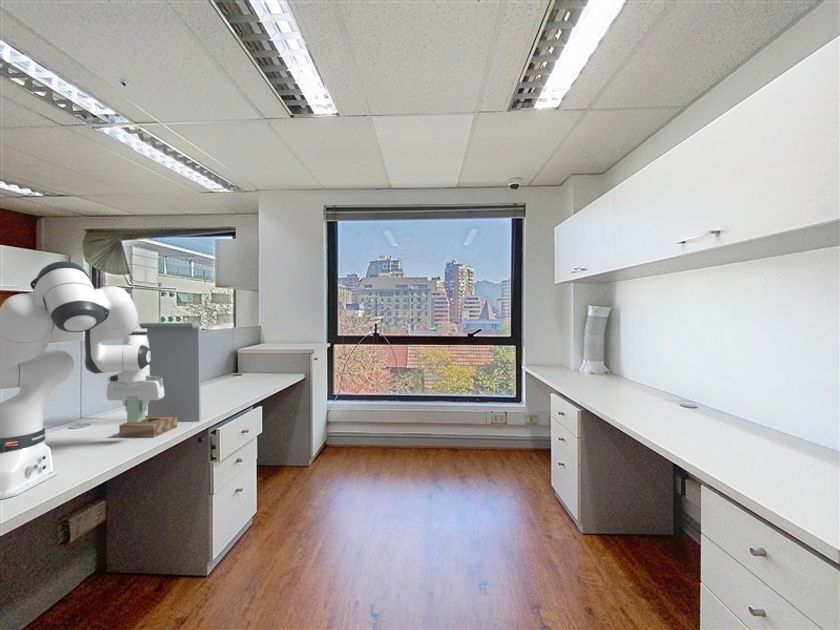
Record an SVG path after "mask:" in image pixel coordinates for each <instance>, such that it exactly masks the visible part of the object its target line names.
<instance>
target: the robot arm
mask: <svg viewBox="0 0 840 630" xmlns="http://www.w3.org/2000/svg"><path fill="white" fill-rule="evenodd" d="M29 284H30V288H31V289H32V291H31V292H28V293H18V294H14V295H11V296H9V297H8V298H6V299H5V300H4V301H3V302H2V304H1V306H0V390H3V389H13V388H19V391H18V392H17V394H16V395H14V396H13V397H10V398H8V399H6V400H4V401H2V402H0V500H5V499H8V498H12V497H15V496H18V495H20V494H21V493H23V492H25V491H27V490H29V489H31V488H33V487H35V486H37V485H39V484H41V483H43V482H44V481H47V480H49V479H51V478H52V477H54V476H56V475H58V474H59V472H58V470H57V469H53V459H52V458H53V457H52V451H51V448H50V446H48V445H47V444H46V443H45V440H46V433H47V432H46V428H45V427H44V414H45V413H44V412H45V406H46V401H47V399H48V398H49V396H50V394H51V393H52V392H53V391H54V389H55V388H56V387H57V386H58V385H60V384H61V383H62V382H64V381H65V380H67V379H68V378H69V377H70V376H71V375H72V373H73V372H74V369H75V361H74V358H73V356H72V355H71V354H70V352H67V351H66V350H61V349H59V350H58V349H48V346H49V342H50V337H51V332H52V329H53V324H54V325H55V326H56V327H57V328H58V329H59V330H60V331H63V332H69V333H82V332H83V333H84V349H85V350H84V351H85V356H84V365H85V369H86V370H88V371H89V372H90V373H92V374H95V375H96V374H102V373H103V374H105V373H113V372H118V373H116V374H112V375H109V376H108V377H107V381H108V383H107V386H106V399H107V400H109V401H122V402H121V403H122V405H123V406H124V408H125V412H126V413H127V396H138V400H142V403H144V404H143V406H142V407H140V412H144V411H145V412H147V411H148V404H149V402H150V400H159V399H162V398H163V397H164V387H163V379H162V378H161V377H159V376H150V366H149V363H150V362H151V350H150V349H149V342H148V338H147V335H144V334H133V333H134V332H135V331H136V330H137V328H138V326H139V314H138V310H137V308H136V307H137V306H136V304H135V303H134V301H133V299H132V297H131V295H130V294H129V293H128V292H127V291H126V289H124V288H122V287H120V286H115V285H107V286H102V287H99V288H95V287H94V285H93V283H92V281H91V280H90V276H89V273H87V272H86V270H85V269H84V268H83V267H81V266H80V264H78V263H74V262H71V261H56V262H52V263H49V264H48V265H46V266H44V267H43V268H42V269H41V270H40V271H39V273H38V274H37V276H36V277H35V278H34V279H32V281H30V283H29ZM121 339H122V344H118V345H117V344H110V345H107V344H102V343H103V342H108V341H114V340H116V341H117V340H121ZM159 378H160V379H159Z"/></svg>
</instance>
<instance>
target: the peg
mask: <svg viewBox="0 0 840 630" xmlns="http://www.w3.org/2000/svg"><path fill="white" fill-rule="evenodd" d="M143 404H144V403H142V400H138V396H127V412H126V418H127V419H126V420H127V421H126V423H127V422H139V421H142V420H144V419H145V416H146V411H144V412H140V407H142V406H143Z"/></svg>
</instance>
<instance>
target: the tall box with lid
mask: <svg viewBox="0 0 840 630" xmlns="http://www.w3.org/2000/svg"><path fill="white" fill-rule="evenodd" d="M139 327H140V329H146V336H147V338H148V342H149V349H150V350H151V362H150V363H149V366H150V376H159V377H161V378H162V379H163V387H164V397H163V398H162V399H159V400H150V402H149V404H148V405H147V416H177V423H178V422H179V423H181V422H182V423H183V422H184V423H185V422H187V423H188V422H189V423H191V422H192V423H194V422H195V423H197V422H198V423H200V422H201V418H202V417H201V324H200V322H144V323H139ZM159 379H160V378H159Z"/></svg>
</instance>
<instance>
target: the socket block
mask: <svg viewBox="0 0 840 630" xmlns="http://www.w3.org/2000/svg"><path fill="white" fill-rule="evenodd" d="M177 427H178V422H177V416H148V415H145V419H144V420H142V421H139V422H127V421H126V422H125V423H121V424H119V428H118V429H119V431H118V432H119V433H118V434H119V436H118V437H119V438H121V439H123V438H127V439H128V438H131V439H132V438H142V439H143V438H145V439H146V438H148V439H149V438H155V437H158V436H161V435H163V434H164V433H165V434H166V433H167V432H169V431H171V430H174V429H175V428H177Z"/></svg>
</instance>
